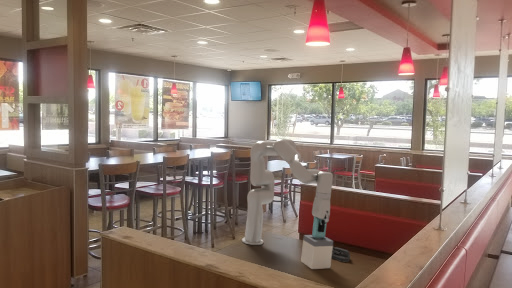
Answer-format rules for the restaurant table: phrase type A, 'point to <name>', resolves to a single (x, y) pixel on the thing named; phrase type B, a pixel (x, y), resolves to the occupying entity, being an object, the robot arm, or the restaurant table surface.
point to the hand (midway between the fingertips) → (319, 230)
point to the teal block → (316, 228)
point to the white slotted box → (316, 252)
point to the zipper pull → (340, 254)
